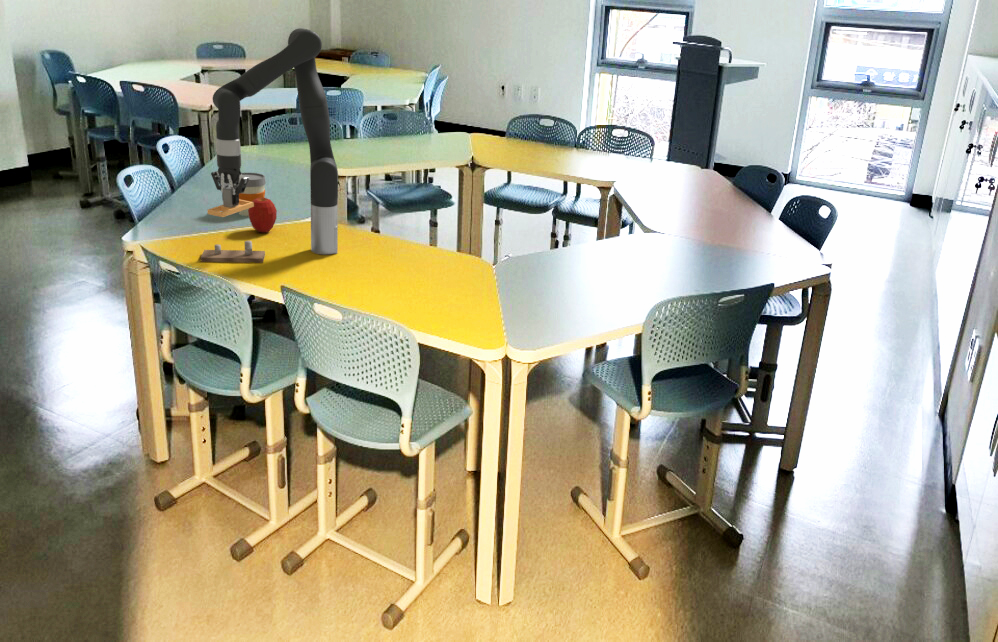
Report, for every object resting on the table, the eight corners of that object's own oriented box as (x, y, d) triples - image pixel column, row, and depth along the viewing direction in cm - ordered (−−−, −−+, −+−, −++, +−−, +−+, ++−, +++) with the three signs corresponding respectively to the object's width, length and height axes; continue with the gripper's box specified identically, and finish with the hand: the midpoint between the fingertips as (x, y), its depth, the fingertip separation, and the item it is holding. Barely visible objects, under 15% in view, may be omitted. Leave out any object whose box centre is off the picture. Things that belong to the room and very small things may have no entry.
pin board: (265, 255, 294) (264, 238, 292) (262, 262, 287) (262, 245, 284) (204, 253, 290) (203, 237, 288) (201, 261, 283) (199, 244, 281)
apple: (246, 228, 320) (244, 192, 314) (273, 226, 324) (271, 191, 319) (252, 236, 311) (251, 199, 306) (280, 234, 316) (279, 198, 311)
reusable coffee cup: (258, 207, 346) (256, 171, 341) (272, 215, 338) (271, 178, 332) (228, 211, 339) (226, 174, 333) (242, 219, 330) (240, 181, 324)
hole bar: (239, 203, 290) (238, 182, 287) (253, 206, 288) (253, 184, 285) (207, 214, 276) (206, 191, 273) (222, 217, 274) (221, 194, 271)
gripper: (203, 151, 274) (206, 203, 280) (238, 157, 269) (241, 210, 276) (218, 147, 280) (221, 198, 287) (253, 153, 276) (255, 205, 282)
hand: (231, 203), depth 281 cm, fingers closed on hole bar, 3 cm apart
